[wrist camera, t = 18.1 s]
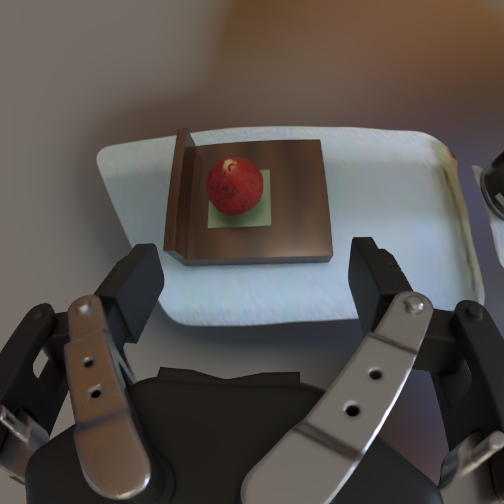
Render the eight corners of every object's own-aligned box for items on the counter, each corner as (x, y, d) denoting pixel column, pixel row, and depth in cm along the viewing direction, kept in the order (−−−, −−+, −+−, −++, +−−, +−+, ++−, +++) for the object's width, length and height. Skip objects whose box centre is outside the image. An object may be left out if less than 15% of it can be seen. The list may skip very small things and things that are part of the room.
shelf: (318, 152, 37) (323, 119, 30) (328, 262, 33) (340, 245, 26) (193, 158, 38) (177, 128, 32) (184, 265, 35) (162, 250, 28)
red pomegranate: (254, 232, 31) (245, 200, 24) (206, 216, 32) (184, 183, 25) (272, 186, 33) (269, 145, 25) (226, 173, 34) (211, 132, 26)
